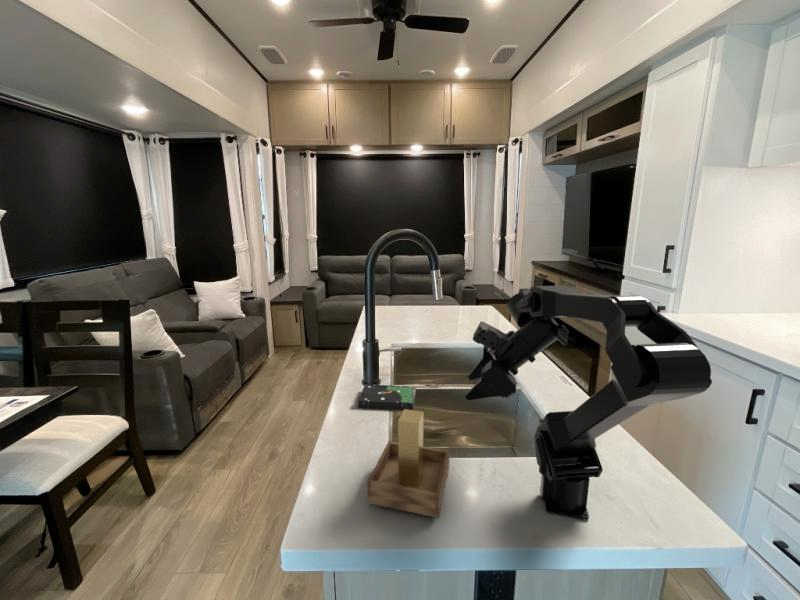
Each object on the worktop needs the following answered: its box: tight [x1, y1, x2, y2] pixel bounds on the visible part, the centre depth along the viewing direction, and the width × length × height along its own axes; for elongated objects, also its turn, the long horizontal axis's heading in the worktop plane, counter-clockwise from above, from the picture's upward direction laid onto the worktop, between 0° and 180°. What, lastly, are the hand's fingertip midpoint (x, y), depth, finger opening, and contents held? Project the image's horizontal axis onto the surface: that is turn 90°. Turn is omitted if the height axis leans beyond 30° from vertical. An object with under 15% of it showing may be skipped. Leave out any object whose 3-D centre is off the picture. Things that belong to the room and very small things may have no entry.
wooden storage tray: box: [366, 440, 450, 519], centre depth 64 cm, size 12×12×5 cm
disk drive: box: [357, 384, 417, 411], centre depth 98 cm, size 10×3×15 cm
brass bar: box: [397, 409, 424, 487], centre depth 62 cm, size 4×4×12 cm
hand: (467, 387), depth 74 cm, fingers open, 9 cm apart
